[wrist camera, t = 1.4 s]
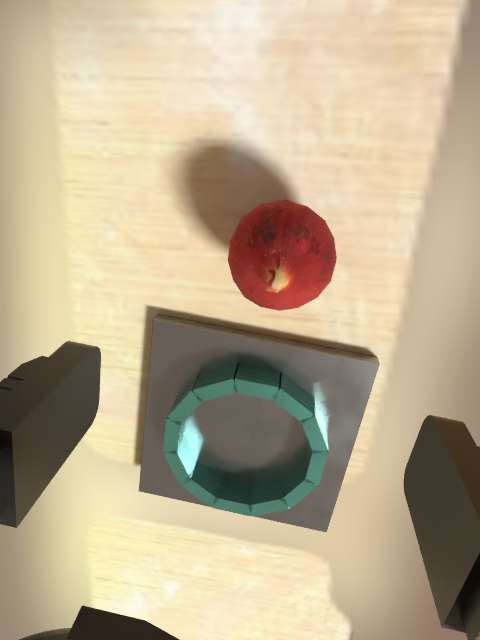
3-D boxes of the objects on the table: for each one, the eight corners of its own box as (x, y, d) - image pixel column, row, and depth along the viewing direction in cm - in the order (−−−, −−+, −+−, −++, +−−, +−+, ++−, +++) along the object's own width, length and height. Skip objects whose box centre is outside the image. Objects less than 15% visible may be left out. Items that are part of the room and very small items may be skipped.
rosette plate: (157, 314, 31) (143, 331, 29) (377, 357, 30) (384, 379, 28) (142, 482, 37) (130, 510, 35) (326, 522, 36) (327, 554, 34)
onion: (229, 202, 28) (202, 228, 21) (324, 183, 27) (332, 204, 19) (248, 292, 30) (230, 345, 23) (337, 278, 29) (349, 328, 21)
